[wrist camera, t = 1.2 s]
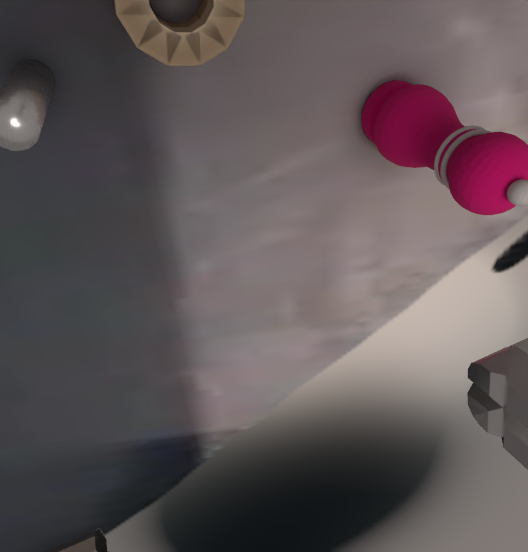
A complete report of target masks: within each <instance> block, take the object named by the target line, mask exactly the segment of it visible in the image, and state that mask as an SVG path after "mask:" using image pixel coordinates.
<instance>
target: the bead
mask: <svg viewBox="0 0 528 552" xmlns="http://www.w3.org/2000/svg"><path fill="white" fill-rule="evenodd" d="M114 4H115V10H116V15H117V16H118V18H119V20H120V21H121V23H122V24H123V26H124V28H125V29H126V31H127V32H128V34H129V35H130V37H131V39H132V40H133V42H134V43H135V45H136V47H137V48H138V49H140V50H142V51H143V52H145V53H147V54H149V55H150V56H152V57H154V58H155V59H157V60H159V61H161V62H162V63H164V64H166V65H167V66H201V65H202V64H204V63H205V62H207V61H209V60H210V59H212V58H213V57H215V56H217V55H218V54H220V53H221V52H223V51H224V50H226V49H228V47H229V45H230V43H231V41H232V40H233V38H234V36H235V34H236V32H237V30H238V28H239V26H240V24H241V23H242V21H243V19H244V8H245V0H202V1H201V3H200V6H199V8H198V10H197V12H196V14H195V15H194V16H192V17H191V18H189V19H187V20H186V21H184V22H183V23H167V22H165V21H164V20H162V19H161V18H159V17H157V16H156V15H154V13H153V11H152V10H151V8H150V6H149V0H114Z"/></svg>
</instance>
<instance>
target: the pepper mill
mask: <svg viewBox="0 0 528 552" xmlns="http://www.w3.org/2000/svg"><path fill="white" fill-rule="evenodd" d="M362 126H363V130H364V132H365V134H366V136H367V137H368V138H369V139H370V140H371V141H372V142H374V143H375V144H376V146H377V148H378V150H379V152H380V153H381V154H382V156H384V157H385V158H386V159H387V160H389V161H391V162H393V163H395V164H397V165H399V166H404V167H413V168H417V167H429V168H431V169H433V170H434V171H435V175H436V177H437V179H438V181H439V182H440V183H442V184H443V185H445V186H446V187H447V188H449V189H450V192H451V194H452V196H453V198H454V200H455V201H456V202H457V203H458V204H459V205H461V206H462V207H463V208H465V209H467V210H469V211H471V212H473V213H476V214H481V215H494V214H499V213H503V212H505V211H508V210H510V209H512V208H513V207H515V206H516V205H517V206H524V205H527V204H528V145H527V144H526V143H525V142H524V141H523V140H521V139H520V138H518V137H516V136H515V135H512V134H508V133H504V132H492V133H491V132H490V131H487V130H485V129H484V128H482V127H479V126H466V127H465V126H463V125H462V124H461V123H460V121H459V119H458V117H457V115H456V112H455V110H454V108H453V106H452V104H451V103H450V102H449V101H448V99H447V98H446V97H445V96H444V95H443V94H442V93H440V92H439V91H437V90H436V89H434V88H432V87H430V86H426V85H412V84H410V83H407V82H405V81H390V82H387V83H385V84H383V85H381V86H380V87H378V88H377V89H376V90H375V91H374V92H373V93H372V94H371V95H370V97H369V98H368V100H367V102H366V104H365V106H364V109H363V113H362Z"/></svg>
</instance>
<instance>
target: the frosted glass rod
mask: <svg viewBox="0 0 528 552" xmlns="http://www.w3.org/2000/svg"><path fill="white" fill-rule="evenodd" d="M54 87H55V80H54V76H53V74H52V72H51V71H50V69H49V68H48V67H47V66H46V65H44V64H43V63H41V62H39V61H36V60H25V61H22V62H21V63H19V64H18V65H17V66H16V68H15V69H14V71H13V72H12V74H11V75H10V77H9V78H8V80H7V81H6V83H5V84H4V86H3V88H2V89H1V91H0V146H1V147H3V148H5V149H8V150H13V151H22V150H26V149H28V148H30V147H32V146H33V145H34V144H35V143H36V142H37V140H38V138H39V136H40V132H41V129H42V126H43V123H44V119H45V116H46V113H47V110H48V106H49V103H50V100H51V97H52V93H53V90H54Z"/></svg>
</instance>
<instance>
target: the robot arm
mask: <svg viewBox="0 0 528 552" xmlns="http://www.w3.org/2000/svg"><path fill="white" fill-rule="evenodd" d="M468 378H469V379H470V380H471V381H472V382H473V384H472V386H471V388H470V389H469V391H468V406H469V408H470V410H471V413H472V415H473V417H474V418H475V420H476V421H477V422H478V424H479V425H480V426H481V427H482V428H483V429H484V430H485V431H486V432H488V433H490V434H493V435H497V436H499V437H501V438H502V443H503V447H504V448H505V449H506V450H507V451H508V452H509V453H510V454H511V455H512V456H513V457H514V458H515V459H516V460H518V461H519V462H520V463H521V464H522V465H523V466H524V467H525V468H526V469H527V470H528V338H527V339H525V340H523V341H520V342H518V343H516V344H513V345H511V346H509V347H506V348H503V349H501V350H499V351H497V352H495V353H493V354H490V355H488V356H486V357H484V358H482V359H480V360H477V361H475V362H473V363H471V365H470V367H469V368H468ZM42 552H108V551H107V541H106V538H105V536H104V535H103V533H102V532H101V530H100V529H96V530H93V531H91V532H89V533H86V534H84V535H81V536H79V537H76V538H74V539H72V540H69V541H67V542H64V543H62V544H59V545H57V546H55V547H52V548H50V549H47V550H45V551H42Z"/></svg>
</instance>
